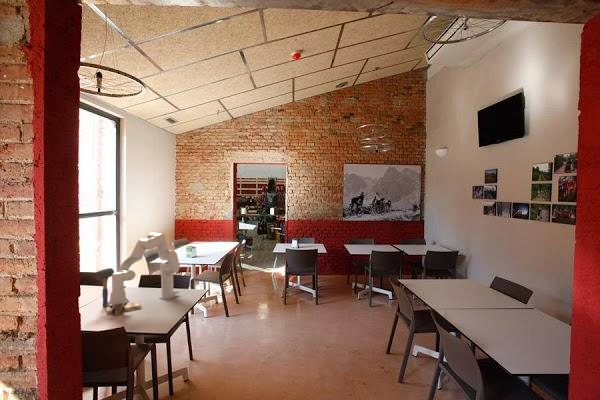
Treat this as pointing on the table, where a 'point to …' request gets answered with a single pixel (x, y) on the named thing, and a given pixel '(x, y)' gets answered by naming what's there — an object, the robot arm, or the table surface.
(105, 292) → the rubber mallet
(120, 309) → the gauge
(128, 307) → the board
